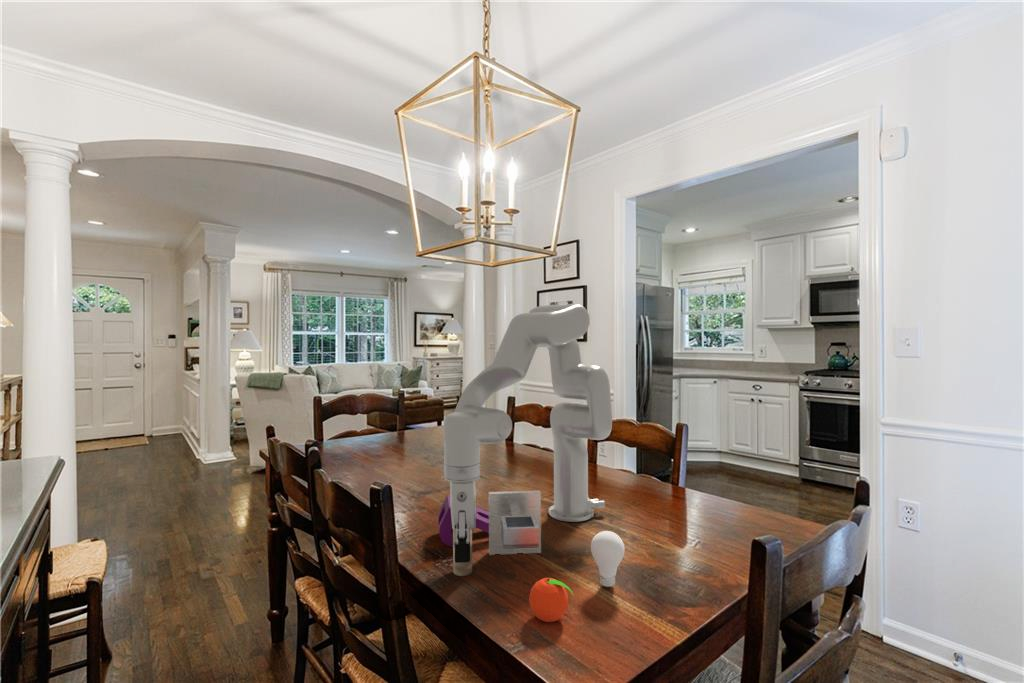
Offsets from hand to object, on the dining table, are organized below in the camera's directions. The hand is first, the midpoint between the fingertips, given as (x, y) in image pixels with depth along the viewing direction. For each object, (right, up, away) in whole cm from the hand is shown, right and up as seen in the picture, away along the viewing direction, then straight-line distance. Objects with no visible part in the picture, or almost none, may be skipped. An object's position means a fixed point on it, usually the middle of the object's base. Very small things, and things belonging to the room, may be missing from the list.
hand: (462, 555), depth 103 cm
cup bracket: (+12, -3, +2) cm, 12 cm away
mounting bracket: (+1, -4, +18) cm, 19 cm away
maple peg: (0, -3, 0) cm, 3 cm away
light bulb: (+30, -3, -7) cm, 31 cm away
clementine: (+18, -4, -18) cm, 25 cm away
